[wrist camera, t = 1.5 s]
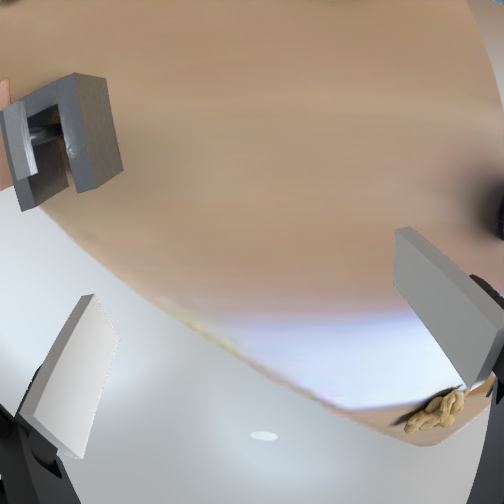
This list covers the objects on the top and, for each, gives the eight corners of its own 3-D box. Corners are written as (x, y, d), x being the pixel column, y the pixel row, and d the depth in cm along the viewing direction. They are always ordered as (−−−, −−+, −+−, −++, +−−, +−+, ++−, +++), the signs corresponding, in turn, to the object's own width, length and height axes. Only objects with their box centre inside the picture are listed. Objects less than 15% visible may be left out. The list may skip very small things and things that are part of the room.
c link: (37, 107, 23) (-2, 112, 17) (105, 78, 23) (74, 72, 17) (55, 190, 28) (21, 211, 22) (123, 170, 28) (97, 187, 22)
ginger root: (475, 386, 53) (483, 413, 47) (427, 414, 62) (431, 440, 55) (452, 376, 49) (461, 407, 42) (396, 407, 58) (401, 437, 51)
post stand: (59, 106, 24) (-2, 112, 14) (81, 97, 24) (22, 98, 14) (70, 157, 26) (12, 183, 17) (91, 150, 27) (36, 172, 17)
